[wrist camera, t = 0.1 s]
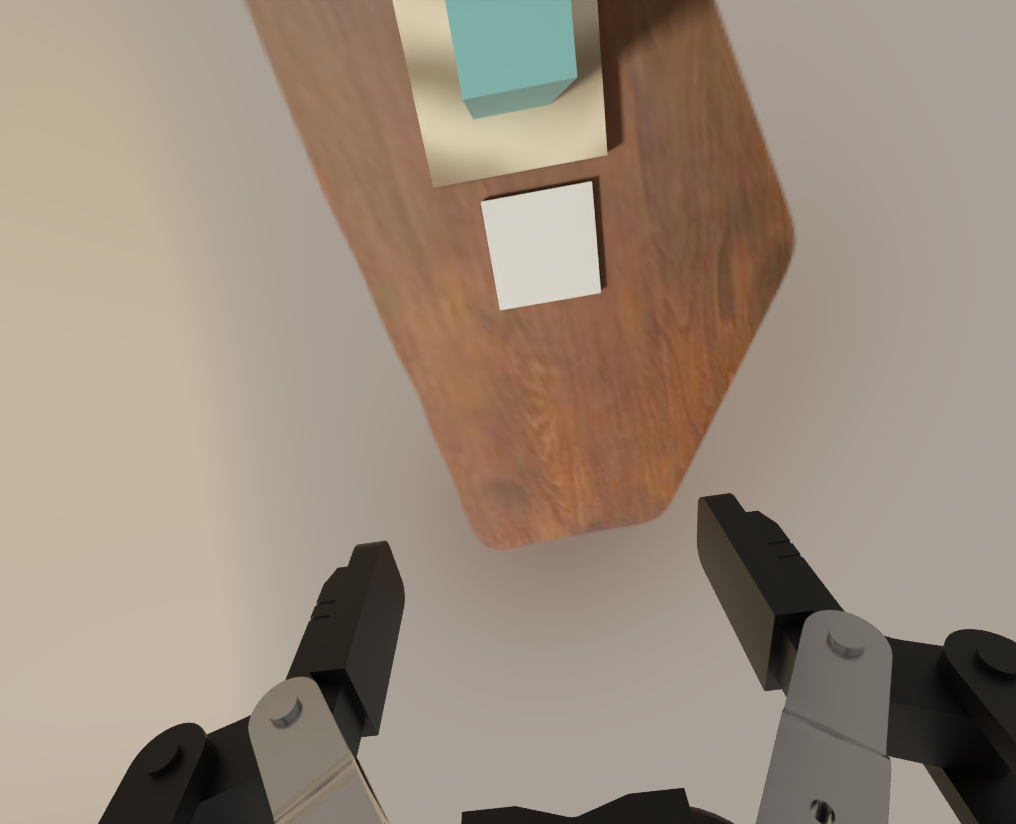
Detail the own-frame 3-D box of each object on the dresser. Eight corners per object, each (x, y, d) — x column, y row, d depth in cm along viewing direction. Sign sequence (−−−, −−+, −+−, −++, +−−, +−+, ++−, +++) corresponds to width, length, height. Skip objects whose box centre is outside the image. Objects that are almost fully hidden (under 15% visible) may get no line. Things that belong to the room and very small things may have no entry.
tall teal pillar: (457, 24, 30) (435, -51, 19) (538, 7, 29) (564, -79, 19) (473, 119, 32) (462, 99, 21) (549, 104, 32) (577, 77, 21)
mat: (480, 201, 36) (480, 201, 35) (590, 181, 35) (591, 181, 35) (499, 308, 39) (500, 310, 39) (599, 291, 39) (600, 292, 38)
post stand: (389, -30, 30) (363, -75, 24) (587, -72, 29) (610, -130, 23) (435, 186, 35) (424, 191, 29) (603, 155, 34) (624, 154, 29)
